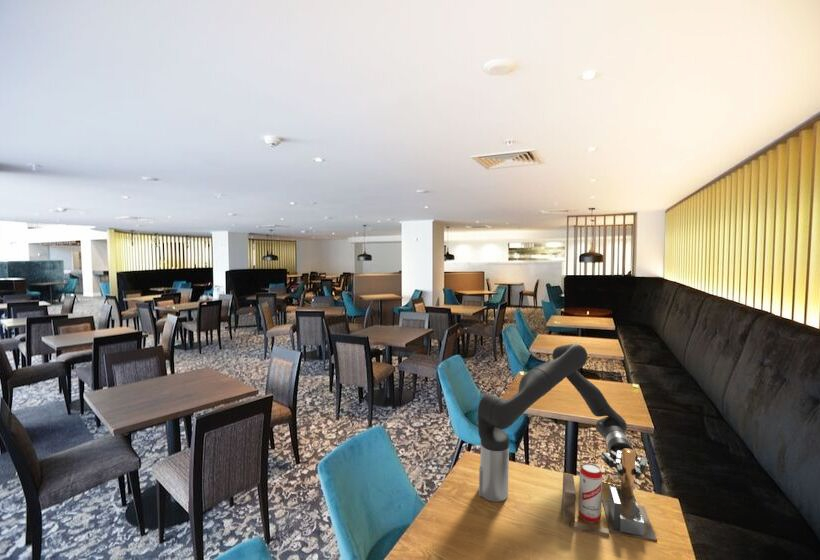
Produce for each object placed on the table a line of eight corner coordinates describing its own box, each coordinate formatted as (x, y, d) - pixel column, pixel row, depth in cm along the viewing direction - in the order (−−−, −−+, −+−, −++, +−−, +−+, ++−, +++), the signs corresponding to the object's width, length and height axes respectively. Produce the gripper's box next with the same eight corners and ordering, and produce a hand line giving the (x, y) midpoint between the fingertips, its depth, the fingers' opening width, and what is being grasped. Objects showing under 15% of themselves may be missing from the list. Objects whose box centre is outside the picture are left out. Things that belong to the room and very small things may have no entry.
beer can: (602, 525, 119) (605, 474, 117) (580, 523, 120) (582, 472, 118) (597, 511, 125) (599, 463, 123) (576, 509, 126) (578, 461, 124)
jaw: (613, 530, 116) (616, 471, 114) (605, 498, 130) (608, 445, 128) (643, 535, 113) (646, 475, 112) (631, 502, 127) (634, 449, 126)
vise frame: (564, 527, 118) (565, 495, 117) (561, 493, 134) (562, 464, 133) (659, 546, 110) (661, 512, 109) (643, 507, 127) (645, 477, 126)
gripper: (597, 433, 140) (605, 459, 124) (642, 439, 136) (657, 466, 120) (596, 453, 141) (604, 481, 125) (641, 460, 137) (655, 490, 120)
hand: (630, 474), depth 122 cm, fingers closed on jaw, 3 cm apart
